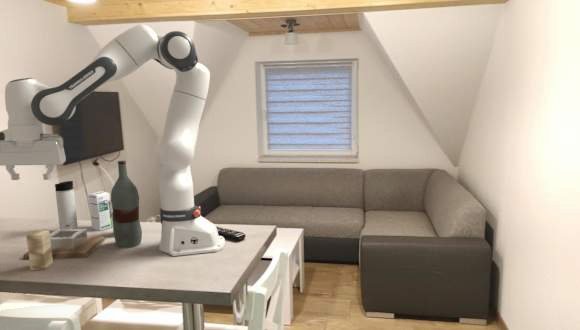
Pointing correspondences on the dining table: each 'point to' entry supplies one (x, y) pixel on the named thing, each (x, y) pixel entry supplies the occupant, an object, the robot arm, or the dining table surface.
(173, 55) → the robot arm
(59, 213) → the travel mug
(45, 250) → the birch pin
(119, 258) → the dining table surface
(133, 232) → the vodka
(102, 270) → the dining table surface
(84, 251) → the walnut base
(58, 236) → the steel collar
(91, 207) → the syrup box
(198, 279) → the dining table surface
